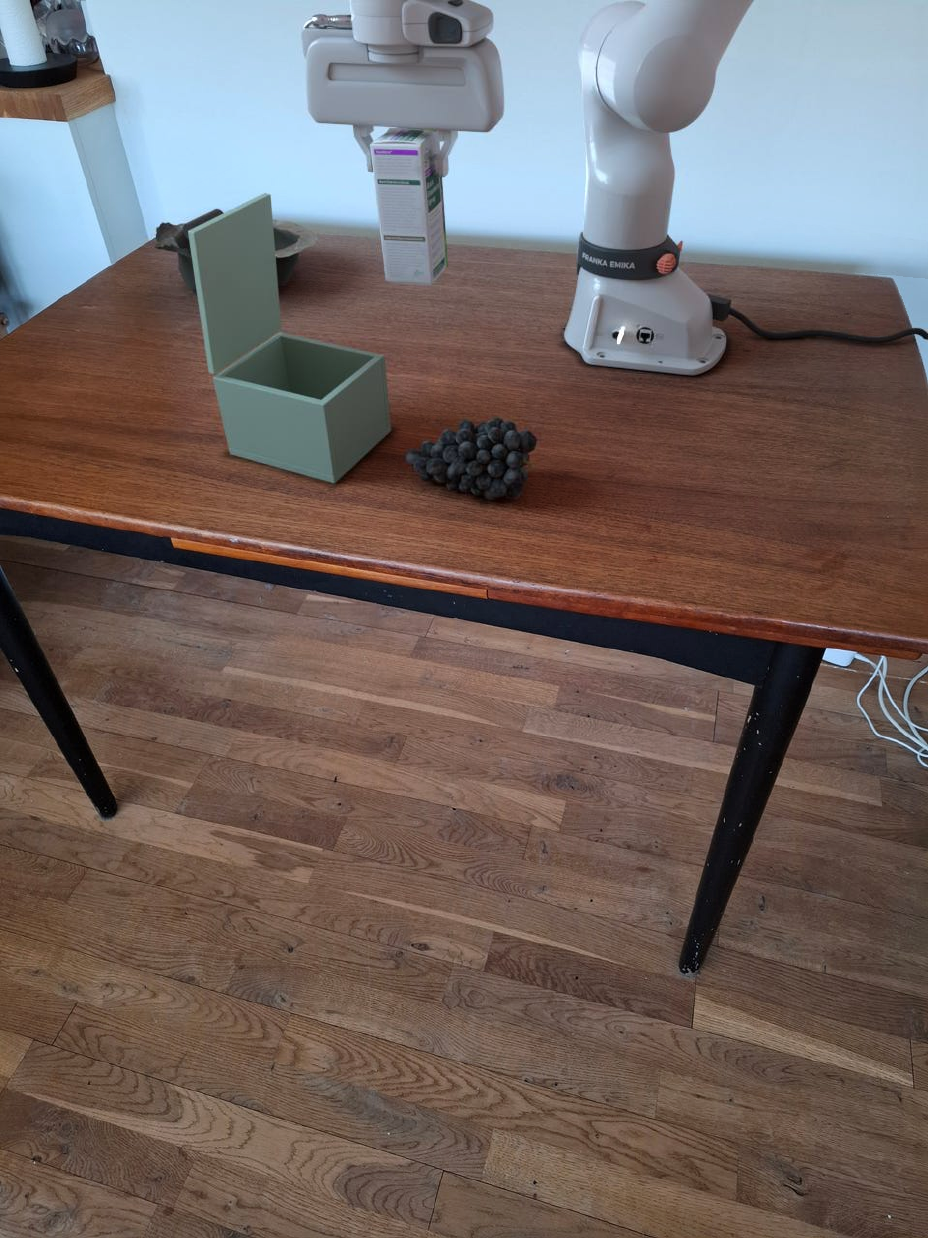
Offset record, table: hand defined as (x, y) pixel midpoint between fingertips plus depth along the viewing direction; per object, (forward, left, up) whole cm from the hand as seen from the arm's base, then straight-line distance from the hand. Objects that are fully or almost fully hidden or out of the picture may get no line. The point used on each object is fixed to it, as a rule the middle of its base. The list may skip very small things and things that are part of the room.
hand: (408, 173), depth 93 cm
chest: (+9, +12, -28) cm, 32 cm away
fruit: (-13, +12, -28) cm, 33 cm away
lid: (+15, +12, -10) cm, 22 cm away
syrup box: (0, 0, -11) cm, 11 cm away
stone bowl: (+47, -26, -28) cm, 61 cm away
